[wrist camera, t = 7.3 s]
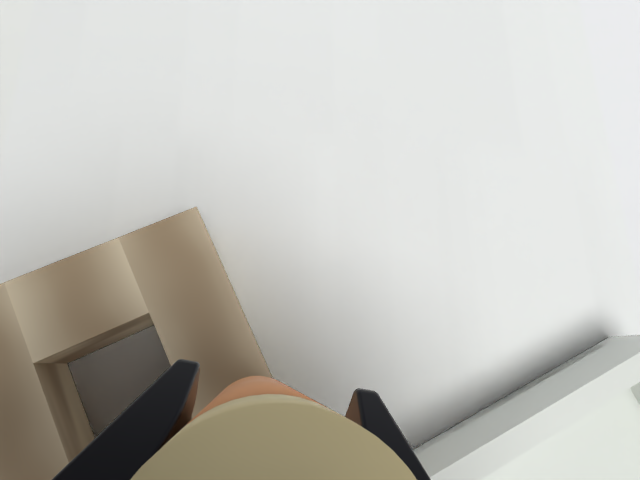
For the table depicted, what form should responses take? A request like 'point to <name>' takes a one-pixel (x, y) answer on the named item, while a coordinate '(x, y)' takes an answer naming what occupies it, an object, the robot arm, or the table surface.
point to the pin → (272, 441)
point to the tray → (553, 425)
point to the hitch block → (112, 333)
